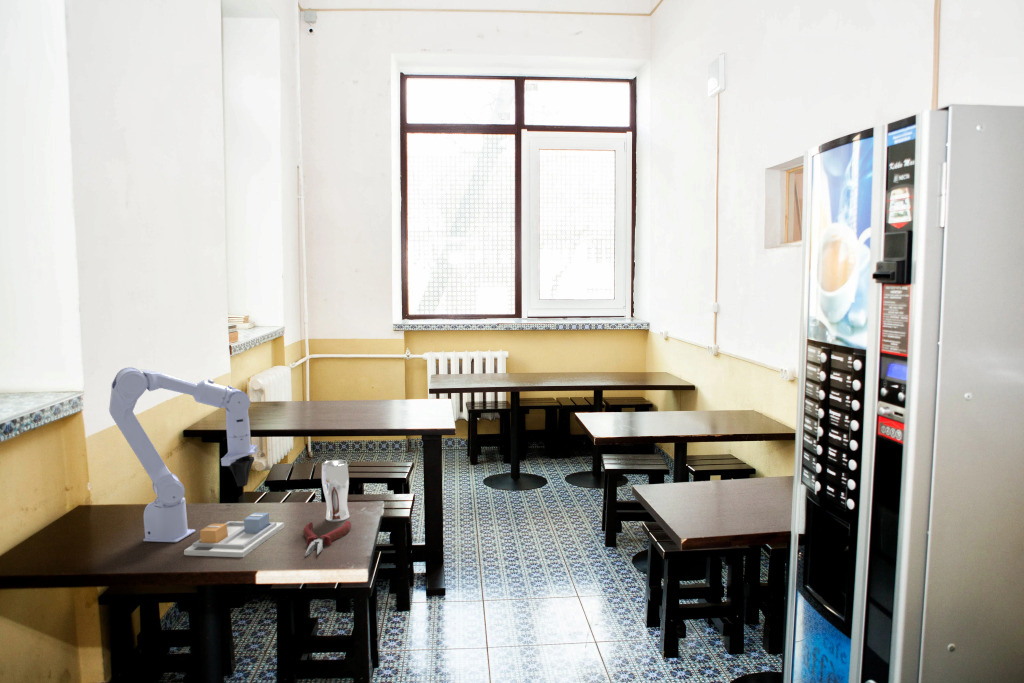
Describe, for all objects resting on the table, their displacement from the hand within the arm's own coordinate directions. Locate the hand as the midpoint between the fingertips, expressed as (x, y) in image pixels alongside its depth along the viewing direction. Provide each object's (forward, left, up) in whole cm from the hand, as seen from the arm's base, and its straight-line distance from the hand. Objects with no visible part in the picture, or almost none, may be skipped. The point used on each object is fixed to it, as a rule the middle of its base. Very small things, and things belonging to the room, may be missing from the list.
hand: (242, 485), depth 195 cm
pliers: (+25, -11, -11) cm, 30 cm away
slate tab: (+8, -9, -9) cm, 15 cm away
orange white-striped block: (+2, -17, -9) cm, 19 cm away
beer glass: (+24, +5, -10) cm, 27 cm away
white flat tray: (+5, -13, -10) cm, 17 cm away
